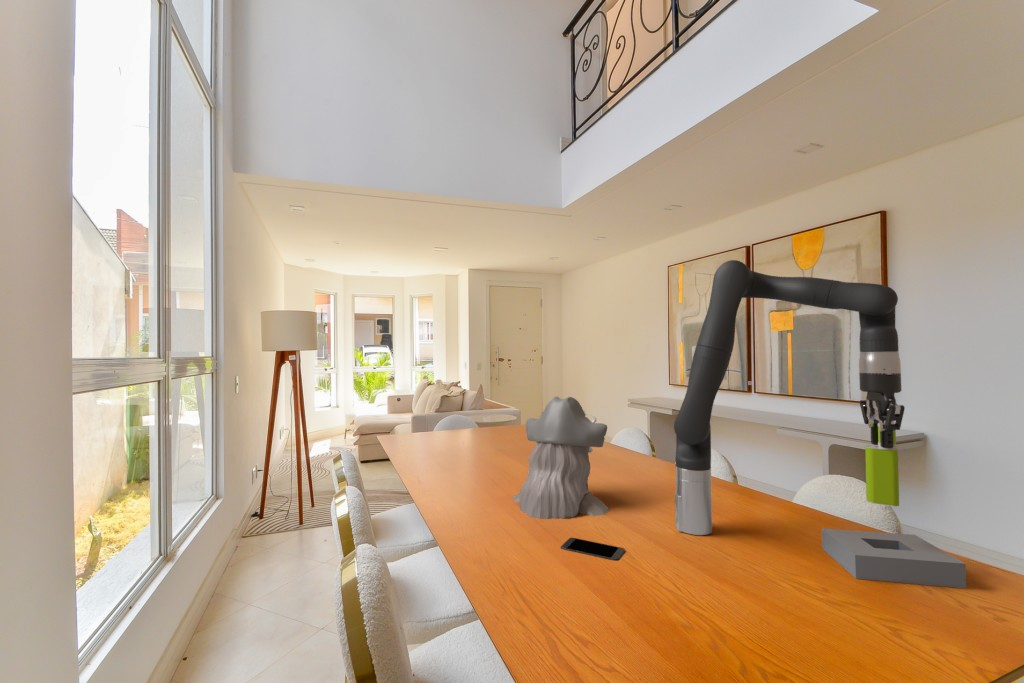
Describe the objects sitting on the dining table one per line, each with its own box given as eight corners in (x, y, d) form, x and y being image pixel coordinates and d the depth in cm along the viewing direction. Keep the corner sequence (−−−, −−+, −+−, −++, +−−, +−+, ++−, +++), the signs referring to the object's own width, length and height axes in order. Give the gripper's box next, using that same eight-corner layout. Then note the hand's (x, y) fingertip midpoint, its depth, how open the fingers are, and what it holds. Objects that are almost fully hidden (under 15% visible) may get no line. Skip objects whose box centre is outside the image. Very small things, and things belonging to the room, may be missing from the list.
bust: (625, 498, 156) (624, 395, 157) (587, 529, 127) (586, 403, 129) (539, 484, 174) (538, 392, 175) (488, 508, 145) (488, 398, 146)
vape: (901, 507, 101) (899, 417, 102) (867, 502, 104) (865, 415, 105) (898, 502, 104) (895, 415, 105) (865, 498, 108) (863, 414, 108)
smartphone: (617, 563, 106) (617, 559, 106) (559, 550, 114) (559, 546, 114) (626, 551, 113) (626, 548, 113) (570, 540, 120) (570, 536, 120)
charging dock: (855, 578, 98) (855, 555, 98) (822, 548, 113) (821, 528, 114) (966, 588, 93) (965, 563, 94) (915, 555, 109) (914, 534, 109)
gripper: (845, 370, 113) (848, 440, 112) (878, 372, 99) (881, 451, 99) (880, 370, 111) (882, 441, 111) (918, 372, 98) (921, 453, 97)
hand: (882, 445), depth 105 cm, fingers closed on vape, 3 cm apart
